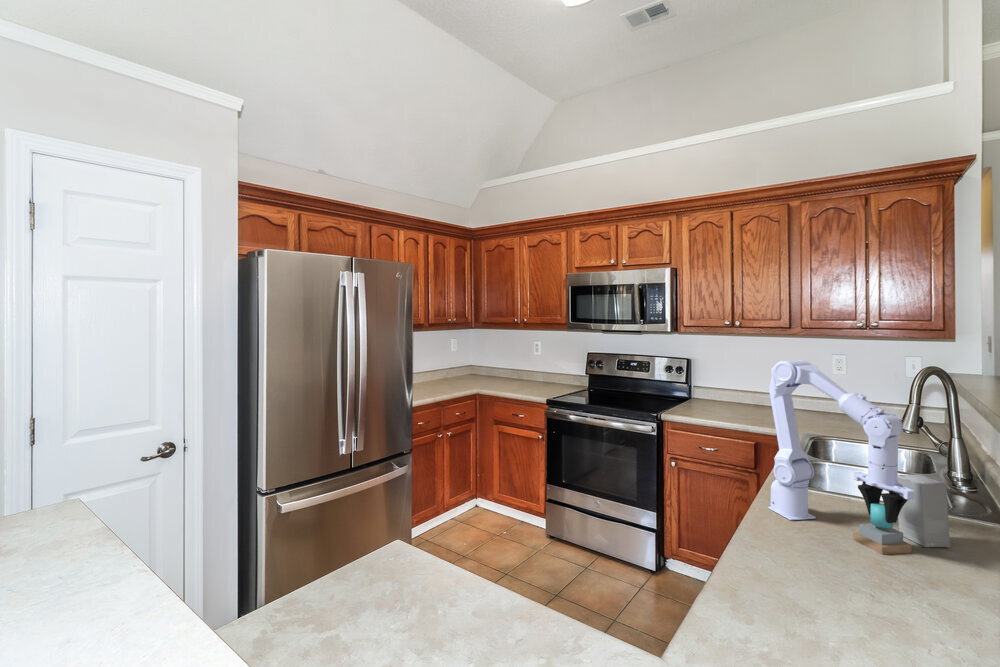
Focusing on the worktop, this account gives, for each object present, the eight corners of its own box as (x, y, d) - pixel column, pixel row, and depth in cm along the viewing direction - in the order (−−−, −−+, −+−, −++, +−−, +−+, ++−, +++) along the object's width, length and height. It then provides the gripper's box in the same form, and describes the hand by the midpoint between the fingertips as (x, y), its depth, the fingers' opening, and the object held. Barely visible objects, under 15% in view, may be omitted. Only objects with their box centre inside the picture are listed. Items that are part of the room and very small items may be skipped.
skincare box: (950, 548, 120) (952, 483, 119) (920, 548, 120) (922, 483, 119) (921, 533, 128) (922, 473, 128) (893, 533, 128) (894, 472, 128)
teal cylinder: (865, 521, 123) (866, 503, 123) (881, 520, 123) (882, 502, 123) (881, 528, 119) (881, 509, 118) (897, 527, 119) (898, 509, 119)
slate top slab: (859, 534, 124) (859, 524, 123) (879, 532, 125) (880, 522, 124) (881, 545, 118) (881, 534, 118) (903, 543, 119) (903, 532, 119)
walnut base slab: (853, 542, 125) (853, 532, 125) (880, 540, 126) (880, 530, 126) (882, 557, 117) (882, 546, 117) (911, 555, 118) (911, 544, 118)
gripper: (843, 456, 127) (842, 508, 128) (896, 473, 113) (895, 531, 113) (867, 454, 128) (866, 506, 129) (923, 471, 114) (922, 529, 114)
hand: (882, 518), depth 121 cm, fingers closed on teal cylinder, 4 cm apart
